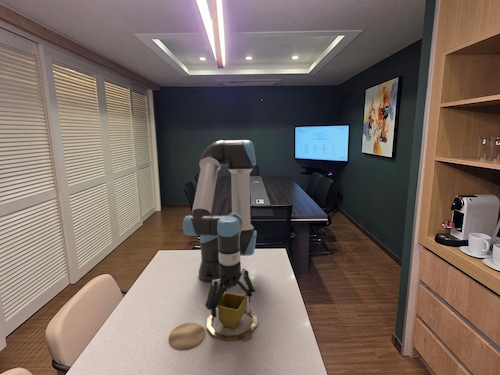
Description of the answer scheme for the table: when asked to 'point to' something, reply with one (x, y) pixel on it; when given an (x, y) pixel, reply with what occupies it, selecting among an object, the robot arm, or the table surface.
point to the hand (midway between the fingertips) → (231, 317)
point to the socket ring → (244, 335)
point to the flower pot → (231, 309)
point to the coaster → (186, 336)
